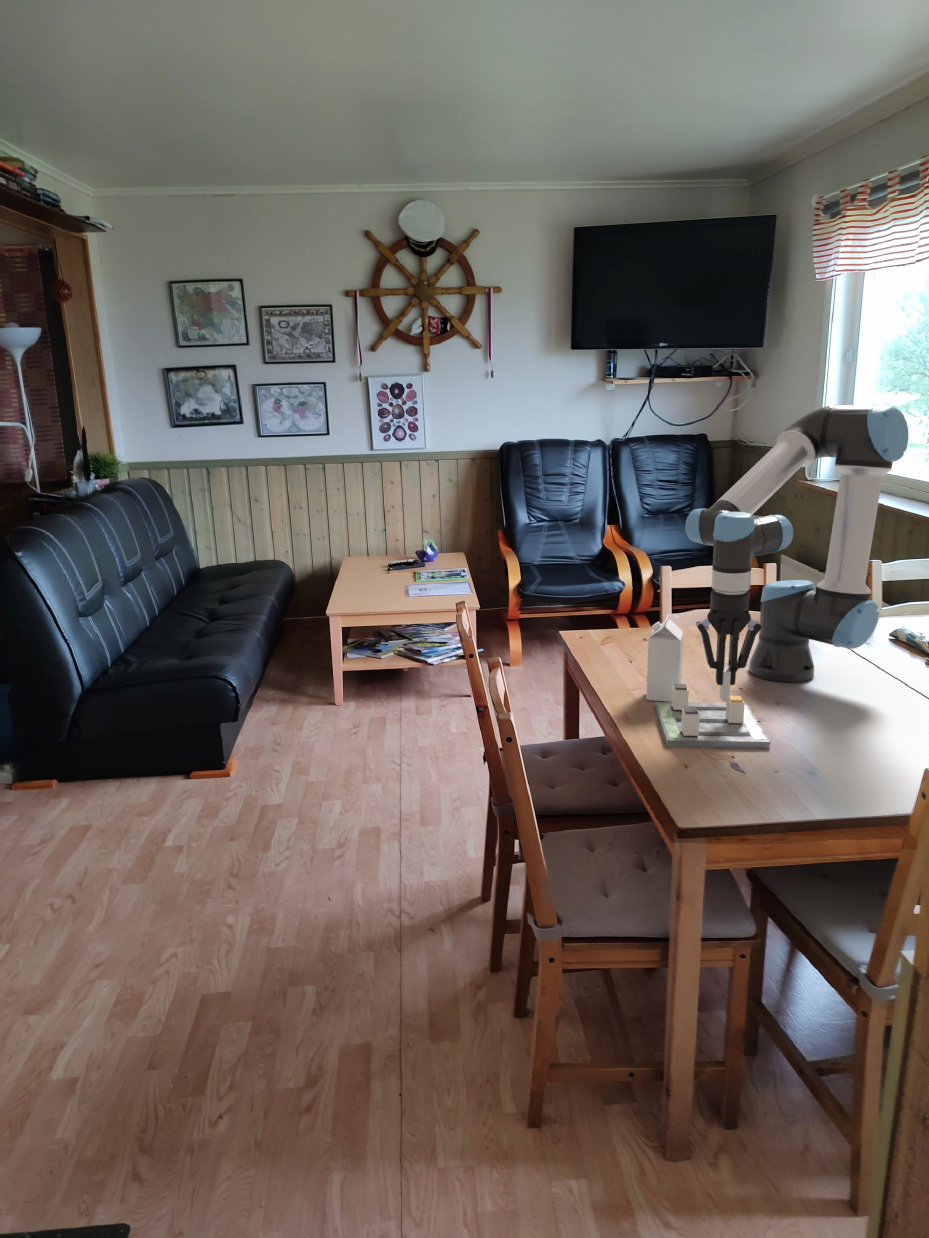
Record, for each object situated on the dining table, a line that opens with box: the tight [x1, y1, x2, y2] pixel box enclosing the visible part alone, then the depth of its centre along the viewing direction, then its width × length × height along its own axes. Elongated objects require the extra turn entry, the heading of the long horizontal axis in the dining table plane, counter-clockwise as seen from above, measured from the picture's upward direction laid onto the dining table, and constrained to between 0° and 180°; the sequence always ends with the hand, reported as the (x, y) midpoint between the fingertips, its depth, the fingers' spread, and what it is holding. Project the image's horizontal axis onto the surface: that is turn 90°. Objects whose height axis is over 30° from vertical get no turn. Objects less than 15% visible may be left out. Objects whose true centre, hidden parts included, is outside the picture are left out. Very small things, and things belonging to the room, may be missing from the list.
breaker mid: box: [725, 695, 745, 723], centre depth 178 cm, size 3×3×5 cm
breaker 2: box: [681, 707, 700, 736], centre depth 173 cm, size 3×3×5 cm
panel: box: [654, 701, 771, 750], centre depth 180 cm, size 20×21×2 cm
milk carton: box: [645, 613, 684, 702], centre depth 196 cm, size 7×7×19 cm
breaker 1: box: [672, 683, 689, 710], centre depth 186 cm, size 3×3×5 cm
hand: (724, 698), depth 179 cm, fingers closed
